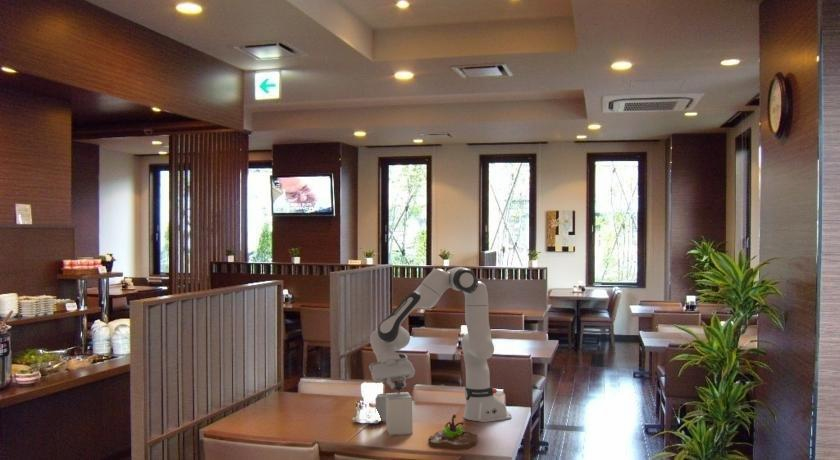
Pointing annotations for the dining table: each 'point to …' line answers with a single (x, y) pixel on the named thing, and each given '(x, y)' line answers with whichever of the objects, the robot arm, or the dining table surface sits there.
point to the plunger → (398, 386)
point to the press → (399, 414)
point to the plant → (453, 437)
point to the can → (381, 406)
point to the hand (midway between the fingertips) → (399, 387)
